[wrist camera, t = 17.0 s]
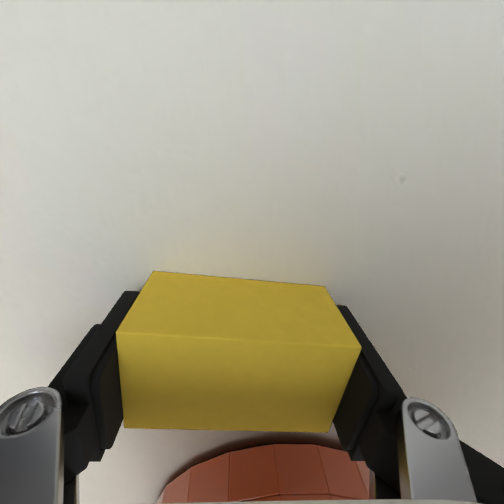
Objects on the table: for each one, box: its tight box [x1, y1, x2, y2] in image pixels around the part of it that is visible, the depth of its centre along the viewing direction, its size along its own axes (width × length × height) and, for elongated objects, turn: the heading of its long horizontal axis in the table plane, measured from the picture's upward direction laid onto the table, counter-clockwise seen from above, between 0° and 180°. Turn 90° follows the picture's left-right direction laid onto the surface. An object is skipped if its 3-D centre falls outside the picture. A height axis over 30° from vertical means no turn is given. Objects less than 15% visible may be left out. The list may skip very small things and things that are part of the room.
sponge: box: [116, 271, 361, 433], centre depth 10 cm, size 4×7×4 cm, turn 82°
